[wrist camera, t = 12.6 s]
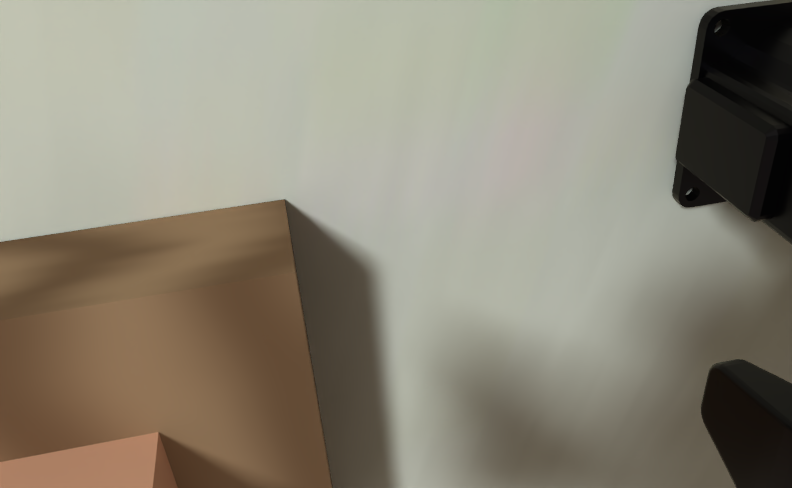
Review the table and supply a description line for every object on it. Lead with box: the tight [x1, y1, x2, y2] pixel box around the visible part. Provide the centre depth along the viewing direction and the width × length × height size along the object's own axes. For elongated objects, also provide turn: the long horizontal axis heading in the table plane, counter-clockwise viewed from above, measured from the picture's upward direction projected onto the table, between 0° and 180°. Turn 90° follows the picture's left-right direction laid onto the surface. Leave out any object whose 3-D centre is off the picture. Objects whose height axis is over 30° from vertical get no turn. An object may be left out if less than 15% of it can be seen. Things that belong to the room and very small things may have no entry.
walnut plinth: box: [0, 199, 333, 488], centre depth 23 cm, size 14×14×4 cm
